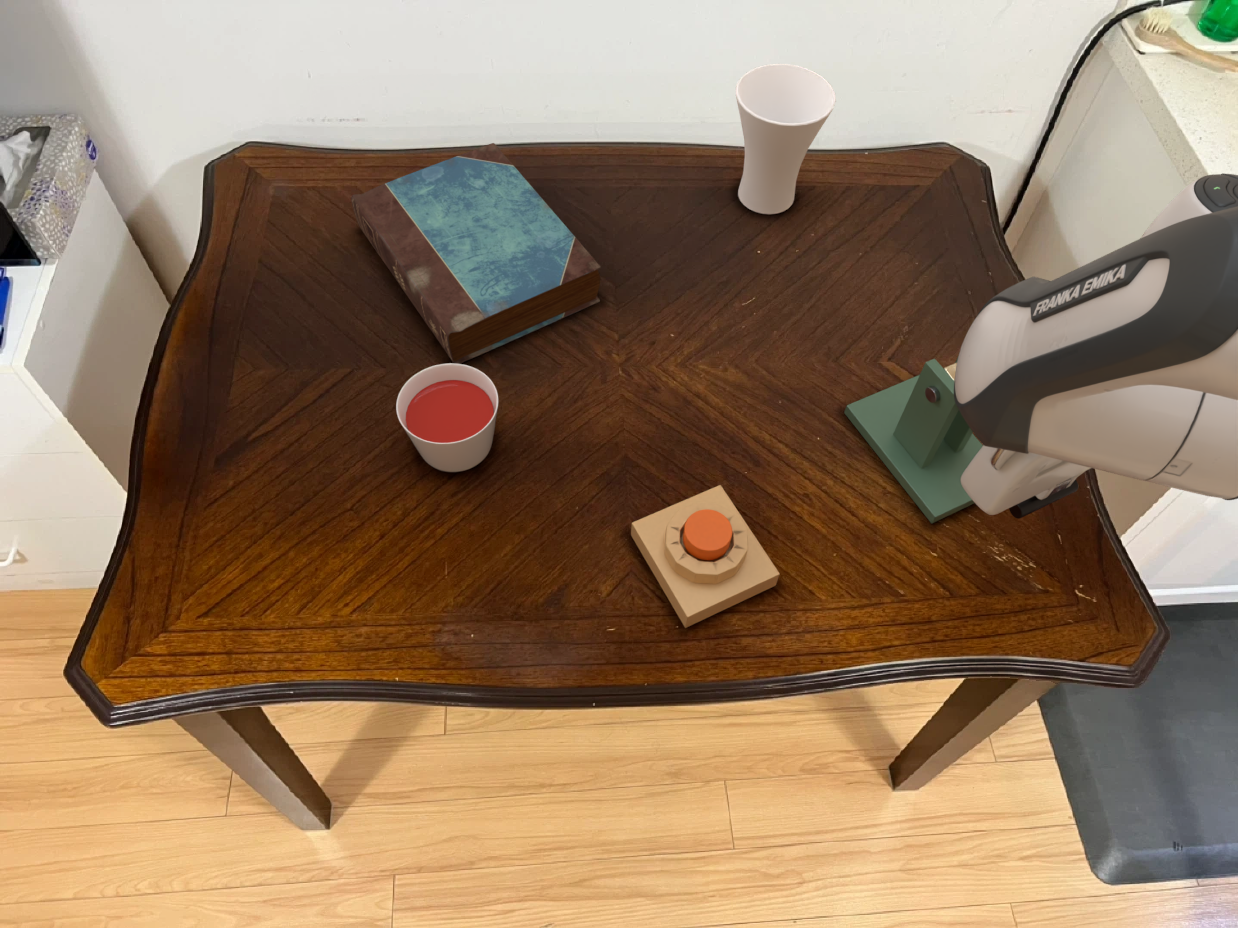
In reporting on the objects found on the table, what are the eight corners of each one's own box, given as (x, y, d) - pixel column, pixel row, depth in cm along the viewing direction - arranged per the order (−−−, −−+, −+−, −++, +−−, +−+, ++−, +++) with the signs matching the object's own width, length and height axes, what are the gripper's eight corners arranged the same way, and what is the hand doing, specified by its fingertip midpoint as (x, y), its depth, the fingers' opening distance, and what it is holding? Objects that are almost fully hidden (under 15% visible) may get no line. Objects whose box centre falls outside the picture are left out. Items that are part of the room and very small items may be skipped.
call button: (776, 585, 82) (783, 563, 79) (685, 628, 80) (689, 607, 76) (717, 497, 87) (722, 473, 84) (630, 535, 85) (632, 512, 81)
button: (738, 549, 80) (741, 539, 78) (697, 568, 79) (699, 558, 77) (714, 512, 82) (717, 502, 80) (674, 530, 81) (675, 520, 79)
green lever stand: (1008, 487, 88) (1061, 410, 79) (931, 524, 86) (975, 450, 76) (917, 381, 95) (955, 298, 85) (843, 412, 93) (873, 331, 83)
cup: (715, 166, 113) (729, 63, 101) (802, 165, 113) (826, 62, 102) (726, 228, 107) (742, 125, 96) (818, 226, 107) (845, 123, 96)
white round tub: (462, 390, 93) (455, 347, 88) (523, 444, 90) (519, 404, 84) (388, 441, 90) (375, 400, 84) (448, 500, 86) (439, 461, 81)
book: (358, 231, 105) (349, 195, 101) (499, 177, 111) (495, 141, 107) (453, 367, 95) (446, 334, 91) (602, 300, 100) (603, 266, 96)
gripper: (1042, 469, 61) (970, 569, 72) (1267, 362, 66) (1167, 470, 78) (979, 399, 64) (919, 505, 75) (1199, 302, 69) (1112, 414, 81)
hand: (1047, 486), depth 77 cm, fingers closed
